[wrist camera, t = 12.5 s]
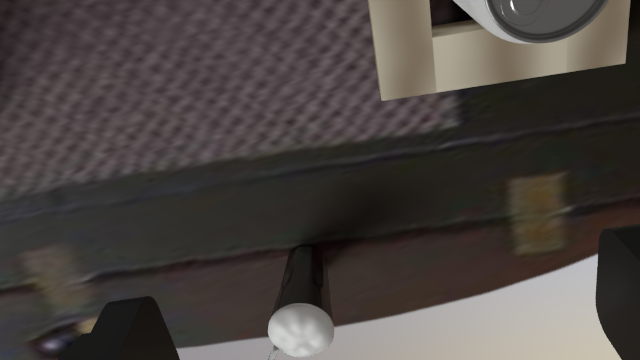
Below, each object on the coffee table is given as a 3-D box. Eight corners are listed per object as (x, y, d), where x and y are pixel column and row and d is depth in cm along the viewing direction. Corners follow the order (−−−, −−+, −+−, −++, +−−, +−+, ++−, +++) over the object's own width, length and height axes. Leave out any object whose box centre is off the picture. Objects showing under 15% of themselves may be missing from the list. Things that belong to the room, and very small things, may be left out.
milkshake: (260, 263, 45) (241, 353, 36) (309, 228, 43) (302, 314, 34) (296, 296, 46) (287, 391, 38) (345, 264, 45) (347, 355, 36)
